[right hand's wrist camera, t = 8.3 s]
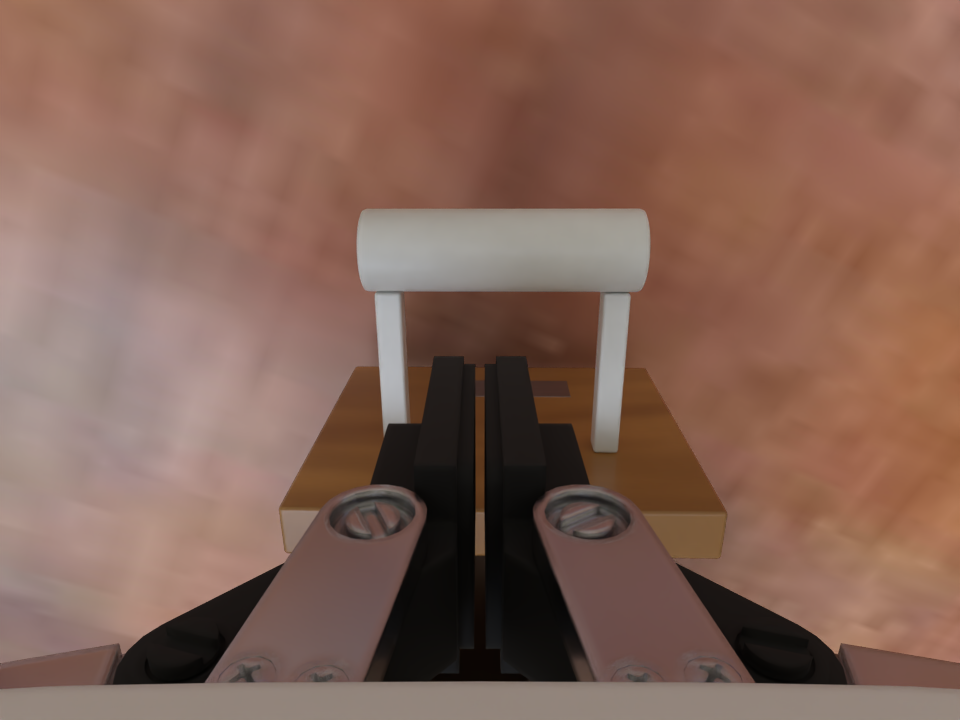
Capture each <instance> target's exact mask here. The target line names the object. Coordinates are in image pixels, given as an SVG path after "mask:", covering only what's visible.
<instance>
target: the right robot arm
mask: <svg viewBox="0 0 960 720" xmlns="http://www.w3.org/2000/svg"><path fill="white" fill-rule="evenodd" d="M475 521H476V434H475V364H464V356H434V360H433V365H432V370H431V376H430V381H429V386H428V392H427V397H426V402H425V407H424V413H423V418H422V423H389V424H388V426H387V429H386V432H385V436H384V439H383V442H382V446H381V449H380V452H379V456H378V459H377V463H376V466H375V469H374V473H373V476H372V479H371V483H370V485H367V486H361V487H356V488H353V489H350V490H347V491H344V492H342V493H340V494H338V495H337V496H335V497H333V498H331V499H330V500H329V501H328V502H327V503H326V504H325V505H324V506H323V507H322V508H321V509H320V511H319V512H318V514H317V515H316V517H315V518H314V520H313V521H312V523H311V524H310V526H309V527H308V529H307V530H306V532H305V533H304V535H303V536H302V538H301V539H300V541H299V542H298V544H297V545H296V547H295V548H294V550H293V551H292V553H291V554H290V556H289V557H288V559H287V560H286V562H285V563H283V564H281V565H279V566H277V567H275V568H273V569H271V570H269V571H267V572H265V573H263V574H261V575H259V576H257V577H255V578H254V579H252V580H250V581H248V582H246V583H244V584H242V585H240V586H238V587H236V588H234V589H232V590H230V591H228V592H226V593H224V594H222V595H220V596H218V597H216V598H214V599H212V600H210V601H208V602H206V603H204V604H202V605H200V606H198V607H196V608H194V609H192V610H190V611H188V612H186V613H184V614H182V615H180V616H178V617H176V618H174V619H172V620H170V621H168V622H166V623H165V624H163V625H161V626H159V627H158V628H156V629H154V630H153V631H151V632H150V633H148V634H146V635H145V636H143V637H142V638H141V639H140V640H139V641H138V642H137V643H136V644H134V645H133V646H132V647H131V648H130V649H129V650H128V651H127V652H126V654H122V653H121V649H120V645H119V643H118V644H112V645H106V646H100V647H94V648H88V649H83V650H77V651H71V652H65V653H59V654H53V655H47V656H41V657H35V658H29V659H23V660H17V661H11V662H5V663H0V720H960V663H955V662H949V661H943V660H937V659H931V658H925V657H919V656H913V655H907V654H901V653H895V652H889V651H883V650H877V649H872V648H866V647H860V646H854V645H848V644H842V643H841V645H840V649H839V653H838V654H834V652H833V651H832V650H831V649H830V648H829V647H828V646H827V645H826V644H824V643H823V642H822V641H821V640H820V639H819V638H818V637H817V636H815V635H814V634H812V633H810V632H809V631H807V630H806V629H804V628H802V627H801V626H799V625H797V624H795V623H794V622H792V621H790V620H788V619H786V618H784V617H782V616H780V615H778V614H776V613H774V612H772V611H770V610H768V609H766V608H764V607H762V606H760V605H758V604H756V603H754V602H752V601H750V600H748V599H746V598H744V597H742V596H740V595H738V594H736V593H734V592H732V591H730V590H728V589H726V588H724V587H722V586H720V585H718V584H716V583H714V582H712V581H710V580H708V579H706V578H704V577H703V576H701V575H699V574H697V573H695V572H693V571H691V570H689V569H687V568H685V567H683V566H681V565H679V564H677V563H675V562H674V560H673V559H672V557H671V556H670V554H669V553H668V551H667V550H666V548H665V547H664V545H663V544H662V542H661V541H660V539H659V538H658V536H657V535H656V533H655V532H654V530H653V529H652V527H651V526H650V524H649V523H648V521H647V520H646V518H645V517H644V515H643V514H642V512H641V511H640V509H639V508H638V507H637V506H636V505H635V504H634V503H633V502H632V501H631V500H630V499H629V498H627V497H625V496H623V495H622V494H620V493H618V492H616V491H613V490H610V489H607V488H604V487H599V486H593V485H590V483H589V479H588V476H587V473H586V469H585V466H584V463H583V459H582V456H581V452H580V449H579V446H578V442H577V439H576V436H575V432H574V429H573V426H572V424H571V423H538V418H537V413H536V407H535V402H534V397H533V392H532V386H531V381H530V376H529V370H528V365H527V360H526V356H496V364H485V433H484V522H485V612H486V649H500V663H501V673H521V674H522V675H523V676H525V677H526V678H527V682H486V681H474V682H433V678H434V677H435V676H437V675H438V674H439V673H459V663H460V649H474V612H475Z"/></svg>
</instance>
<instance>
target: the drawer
mask: <svg viewBox="0 0 960 720" xmlns="http://www.w3.org/2000/svg"><path fill="white" fill-rule="evenodd" d="M649 260H650V228H649V222H648V218H647V215H646V212H645V211H644V210H642V209H365V210H363V211H362V212H361V215H360V218H359V222H358V228H357V263H358V270H359V276H360V280H361V283H362V285H363V288H364V289H365V290H367V291H377V292H376V293H375V311H376V326H377V341H378V356H379V367H356V368H355V370H354V371H353V373H352V375H351V377H350V379H349V381H348V382H347V384H346V386H345V388H344V390H343V392H342V393H341V395H340V397H339V399H338V401H337V403H336V404H335V406H334V408H333V410H332V412H331V414H330V415H329V417H328V419H327V421H326V423H325V425H324V426H323V428H322V430H321V432H320V434H319V436H318V437H317V439H316V441H315V443H314V445H313V447H312V448H311V450H310V452H309V454H308V456H307V458H306V459H305V461H304V463H303V465H302V467H301V469H300V470H299V472H298V474H297V476H296V478H295V480H294V481H293V483H292V485H291V487H290V489H289V491H288V492H287V494H286V496H285V498H284V500H283V502H282V503H281V505H280V507H279V514H280V521H281V528H282V535H283V543H284V550H285V552H286V553H292V551H293V550H294V548H295V547H296V545H297V544H298V542H299V541H300V539H301V538H302V536H303V535H304V533H305V532H306V530H307V529H308V527H309V526H310V524H311V523H312V521H313V520H314V518H315V517H316V515H317V514H318V512H319V511H320V509H321V508H322V507H323V506H324V505H325V504H326V503H327V502H328V501H329V500H330V499H331V498H333V497H335V496H337V495H338V494H340V493H342V492H344V491H347V490H350V489H353V488H356V487H361V486H367V485H370V483H371V479H372V476H373V473H374V469H375V466H376V463H377V459H378V456H379V452H380V449H381V446H382V442H383V439H384V436H385V432H386V429H387V426H388V424H389V423H422V418H423V413H424V407H425V402H426V397H427V392H428V386H429V381H430V376H431V370H432V367H408V364H407V343H406V322H405V301H404V291H439V292H600V306H599V321H598V336H597V352H596V367H595V368H528V370H529V376H530V381H531V386H532V392H533V397H534V402H535V407H536V413H537V418H538V423H571V424H572V426H573V429H574V432H575V436H576V439H577V442H578V446H579V449H580V452H581V456H582V459H583V463H584V466H585V469H586V473H587V476H588V479H589V483H590V485H593V486H599V487H604V488H607V489H610V490H613V491H616V492H618V493H620V494H622V495H623V496H625V497H627V498H629V499H630V500H631V501H632V502H633V503H634V504H635V505H636V506H637V507H638V508H639V509H640V511H641V512H642V514H643V515H644V517H645V518H646V520H647V521H648V523H649V524H650V526H651V527H652V529H653V530H654V532H655V533H656V535H657V536H658V538H659V539H660V541H661V542H662V544H663V545H664V547H665V548H666V550H667V551H668V553H669V554H670V556H671V557H672V558H712V559H717V558H720V556H721V551H722V544H723V538H724V532H725V526H726V519H727V512H726V510H725V508H724V506H723V505H722V503H721V501H720V499H719V497H718V496H717V494H716V492H715V490H714V489H713V487H712V485H711V483H710V482H709V480H708V478H707V476H706V475H705V473H704V471H703V469H702V468H701V466H700V464H699V462H698V460H697V459H696V457H695V455H694V453H693V452H692V450H691V448H690V446H689V445H688V443H687V441H686V439H685V438H684V436H683V434H682V432H681V430H680V429H679V427H678V425H677V423H676V422H675V420H674V418H673V416H672V415H671V413H670V411H669V409H668V408H667V406H666V404H665V402H664V401H663V399H662V397H661V395H660V393H659V392H658V390H657V388H656V386H655V385H654V383H653V381H652V379H651V378H650V376H649V374H648V372H647V371H646V369H644V368H625V359H626V347H627V335H628V323H629V311H630V299H631V296H630V294H629V292H638V291H640V290H642V288H643V286H644V284H645V281H646V278H647V273H648V268H649ZM484 433H485V367H475V434H476V521H475V612H474V649H460V663H459V673H439V674H438V675H437V676H435V677H434V678H433V682H474V681H486V682H527V678H526V677H525V676H523V675H522V674H521V673H501V663H500V649H486V612H485V522H484Z"/></svg>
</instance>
